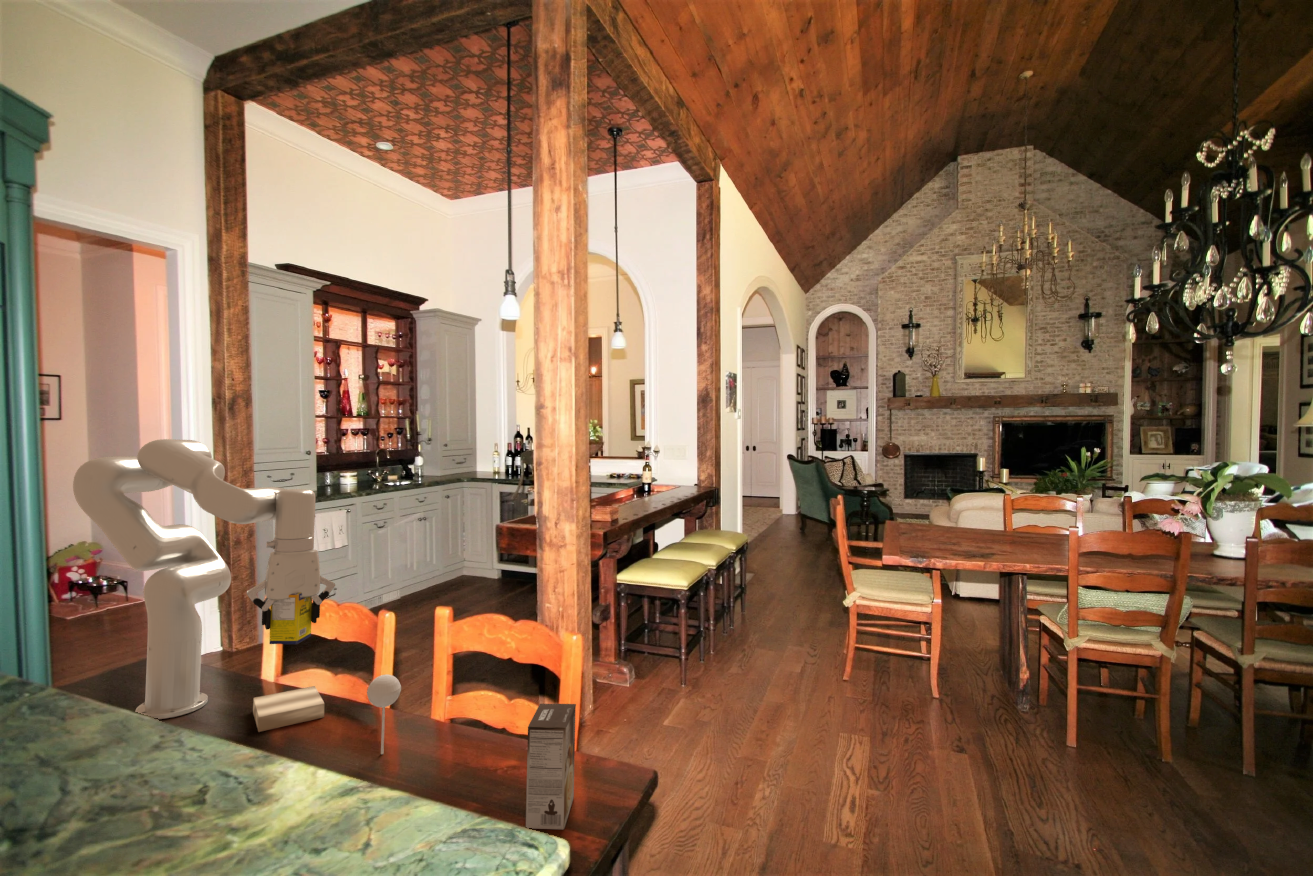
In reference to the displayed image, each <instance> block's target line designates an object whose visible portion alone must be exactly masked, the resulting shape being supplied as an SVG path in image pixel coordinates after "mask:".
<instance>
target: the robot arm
mask: <svg viewBox="0 0 1313 876" xmlns="http://www.w3.org/2000/svg"><path fill="white" fill-rule="evenodd" d="M225 475H226V470H225V466H224V465H223V463H221V462H220V461H218V460H216V459H213V458H212V453H211V451H210V449H209V448H208V447H207V446H206V445H205V444H204V443H202V442H200V441H197V440H194V439H172V438H171V439H170V438H169V439H167V438H166V439H165V438H163V439H156V440H151V441H149V442H147V443H146V444H144V445H143V446H141V448H140V449H139V450H138V452H137V455H135V456H134V455H132V456H130V455H128V456H127V455H126V456H125V455H121V456H120V455H117V456H114V455H113V456H103V457H98V458H94V459H89V460H88V461H86V462H84V463H82V465H80V466H79V467H78V468H77V470H76V472H75V474H74V476H73V481H72V489H73V496H74V498H75V501H76V502H77V504H78V506H79V507H80V509H81V510H82V511H83V512H84V513H85V514H86V516H87V517H89V518H90V520H92V521H93V523H95V524H96V525H97V526H98V527H99V528H100V529H101V531H102V532H103V533H104V534H105V536H106V537H107V539H108V540H109V542H110V543H111V544H112V546H114V548H115V550H116V551H118V553H119V554H120V555H121V557H122V558H123V559H124V560H125V562H126V564H128V565H129V566H130V567H131V568H132V569H133V570H136V571H138V572H139V571H140V572H147V571H149V572H150V571H155V572H154V573H153V574H151V575H150V577H148V579H147V580H146V582H144V583H145V584H144V585H143V592H142V593H143V601H144V604H145V609H146V615H147V644H146V645H147V646H146V647H147V648H146V649H147V650H146V668H145V669H146V671H145V673H146V675H145V695H144V696H145V697H144V699H145V700H144V702H142V703H141V704H139V705H138V706H137V707H136V709H135V711H134V712H138V713H141V714H144V715H148V716H151V717H154V718H158V719H157V720H162V719H169V718H170V719H171V718H175V717H180V716H183V715H186V714H190V713H192V712H194V711H197V710H199V709H201V708H202V707H204V706H205V705H207V703H208V701H209V700H208V697H209V696H208V694H206V693H204V692H200V691H201V669H202V667H201V666H202V665H201V664H202V641H203V633H202V632H203V623H202V619H201V616H200V614H199V613H198V611H197V609H196V606H195V605H196V604H199V603H202V602H205V601H206V602H207V601H209V600H211V599H214V598H216V597H217V598H218V597H219V596H221V595H223V594H224V593H226V591H227V590H228V589H229V588H230V585H231V582H232V573H231V571H230V568H229V566H228V564H227V563H226V561H225V560H224V559H223V557H222V556H221V555H220V554H219V553H218V551H217V550H216V549H215V547H214V546H213V545H212V544H211V542H210V541H209V540H208V539H207V537H206V536H205V535H204V533H202V532H201V531H200V530H198V528H196V527H194V526H191V525H188V524H170V525H161V524H159V523H158V521H156V520H155V518H153V516H151V514H150V513H149V512H148V510H147V509H146V508H145V507H144V506H143V505H141V503H138V502H137V501H135V500H133V499H131V498H130V497H128V496H126V494H134V493H147V492H148V493H149V492H156V491H159V490H162V489H165V488H169V487H171V486H175V487H177V488H179V489H181V490H183V491H186V492H188V493H189V494H190V495H191V494H192V496H193V499H194V501H195V503H197V505H198V507H200V509H202V510H203V511H205V512H207V513H208V514H211V515H213V516H215V517H217V518H219V519H221V520H224V521H226V522H228V523H231V524H238V525H248V524H253V523H259V522H268V521H273V520H274V521H275V522H274V537H273V539H272V540H270V541H266V543H265V544H266V548H267V549H269V548H270V549H272V550H273V551H271V552H270V554H269V558H268V561H267V567H266V573H265V579H264V580H263V581H261V582H259V583H258V584H256V585H255V586H253V587H251V588H250V589H248V590H247V591H246V596H247V597H248V598H249V599H250V601H251V602H252V603H253V604H254V605H255V606H256V607H258V608H259V609H260V610H261V626H264V627H265V630H270V624H271V610H270V607H271V605H272V604H273V602H274V601H275V600H285V599H288V597H289V595H290V594H295V593H302V597H303V598H304V597H311V598H312V616H311V624H312V623H313V624H317V619H320V614H321V613H320V612H321V604H323V602H324V601H325V600H326V599H327V598H328V597H329V596H330V593H332V591H333V589H334V588H335V587H336V584H335V582H333V581H332V580H329V579H328V578H326V577H323V576H321V570H320V569H321V567H320V557H319V552H318V549H317V550H316V549H314V544H315V543H314V542H315V522H316V493H315V492H314V491H313V490H311V489H304V488H289V489H288V488H282V487H277V486H264V487H261V486H260V487H251V488H249V487H247V488H241V487H238V486H236V485H234V484H231V483H229V482H227V481H225V480H224V479H225ZM156 570H158V571H156ZM321 585H324V586H325V588H324V589H323V590H322V592H320V591H321V590H320V589H321ZM263 590H264V594H265V596H266V598H265V599H264V600H262V599H260V598H259V597H258V595H257V594H258V593H259V592H261V591H263Z"/></svg>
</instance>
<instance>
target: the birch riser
mask: <svg viewBox="0 0 1313 876" xmlns="http://www.w3.org/2000/svg"><path fill="white" fill-rule="evenodd" d="M252 702H253V703H252V715H253V717H254V721H255V724H256V728H257V732H258V733H260V732H264V731H269V730H275V729H279V728H282V727H287V726H292V725H296V724H301V723H303V722H304V723H305V722H310V721H314V720H318V719H322V718H323V719H324V718H325V702H324V700H323V698H322V696H321V695H320V692H319V691H318V689H317V687H316V685H313V686H309V687H303V688H297V689H292V690H287V691H283V692H276V693H271V694H267V695H261V696H256V697H253V699H252Z"/></svg>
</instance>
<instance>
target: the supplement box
mask: <svg viewBox="0 0 1313 876" xmlns="http://www.w3.org/2000/svg"><path fill="white" fill-rule="evenodd" d="M312 602H313V599H312V598H311V597H304V598H303V597H302V593H295V594H290V595H289V597H288V599H285V600H275V601H274V602H273V604H272V605H271V606H270V610H271V624H270V629H269V645H298V644H300V643H301V642H303V641H305V640H307V639H309V638H310V637H311V635H312V621H311V616H312Z"/></svg>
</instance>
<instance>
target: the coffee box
mask: <svg viewBox="0 0 1313 876" xmlns="http://www.w3.org/2000/svg"><path fill="white" fill-rule="evenodd" d="M576 706H577V704H576V703H539V705H538V707H537V709H536V711H535V712H534V714H533V716H532V718H531V720H530V722H529V724H528V726H527V750H526V751H527V753H526V754H527V755H526V756H527V758H526V794H525V795H526V797H525V799H526V800H525V804H526V805H525V828H526V827H527V828H526V829H529V828H532V829H533V830H534V829H535V830H537V829H539V830H565V828H566V825H567V821H568V818H569V814H570V811H571V807H572V805H573V801H574V796H575V791H574V790H575V755H576V753H575V749H576V748H575V747H576V746H575V745H576Z"/></svg>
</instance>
